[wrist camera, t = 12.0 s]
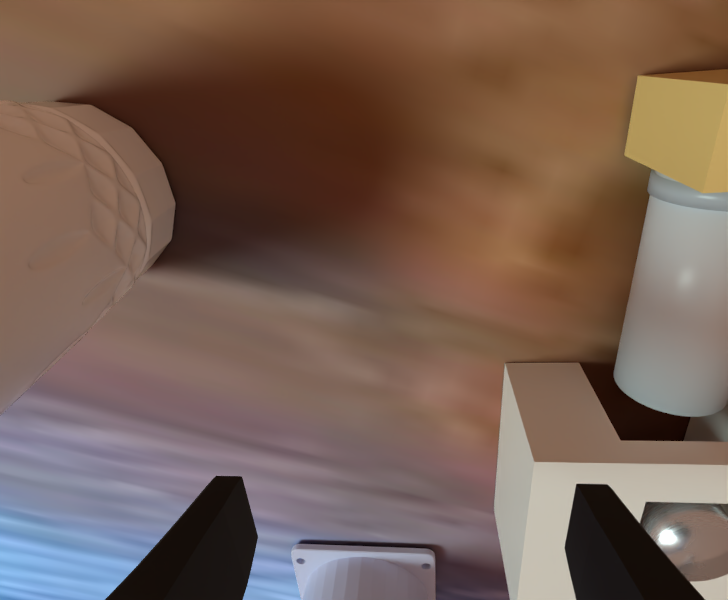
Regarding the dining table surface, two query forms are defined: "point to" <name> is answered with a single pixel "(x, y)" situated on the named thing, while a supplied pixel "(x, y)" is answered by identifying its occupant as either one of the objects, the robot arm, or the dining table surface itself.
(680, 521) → the plunger
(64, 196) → the white cup
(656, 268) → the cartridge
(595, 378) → the dining table surface
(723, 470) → the housing
